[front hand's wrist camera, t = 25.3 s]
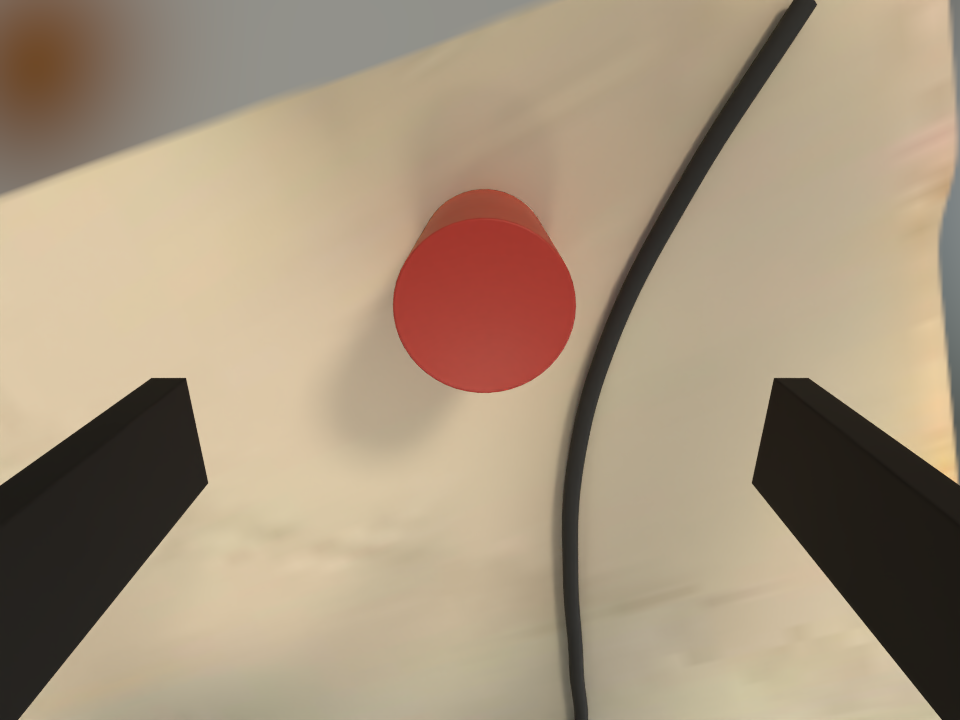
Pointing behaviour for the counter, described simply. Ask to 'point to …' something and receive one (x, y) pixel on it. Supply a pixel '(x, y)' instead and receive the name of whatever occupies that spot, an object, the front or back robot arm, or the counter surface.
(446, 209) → the canister
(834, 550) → the front robot arm
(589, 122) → the counter surface
